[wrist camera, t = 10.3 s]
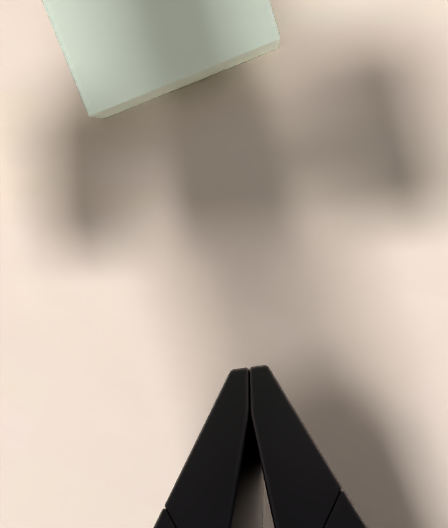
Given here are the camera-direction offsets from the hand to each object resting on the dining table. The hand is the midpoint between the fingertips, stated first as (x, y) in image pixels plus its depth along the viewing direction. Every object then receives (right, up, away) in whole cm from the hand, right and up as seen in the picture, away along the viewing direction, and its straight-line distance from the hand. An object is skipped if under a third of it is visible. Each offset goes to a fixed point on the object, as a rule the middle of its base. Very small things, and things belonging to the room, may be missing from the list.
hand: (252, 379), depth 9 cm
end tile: (-3, +12, +12) cm, 17 cm away
